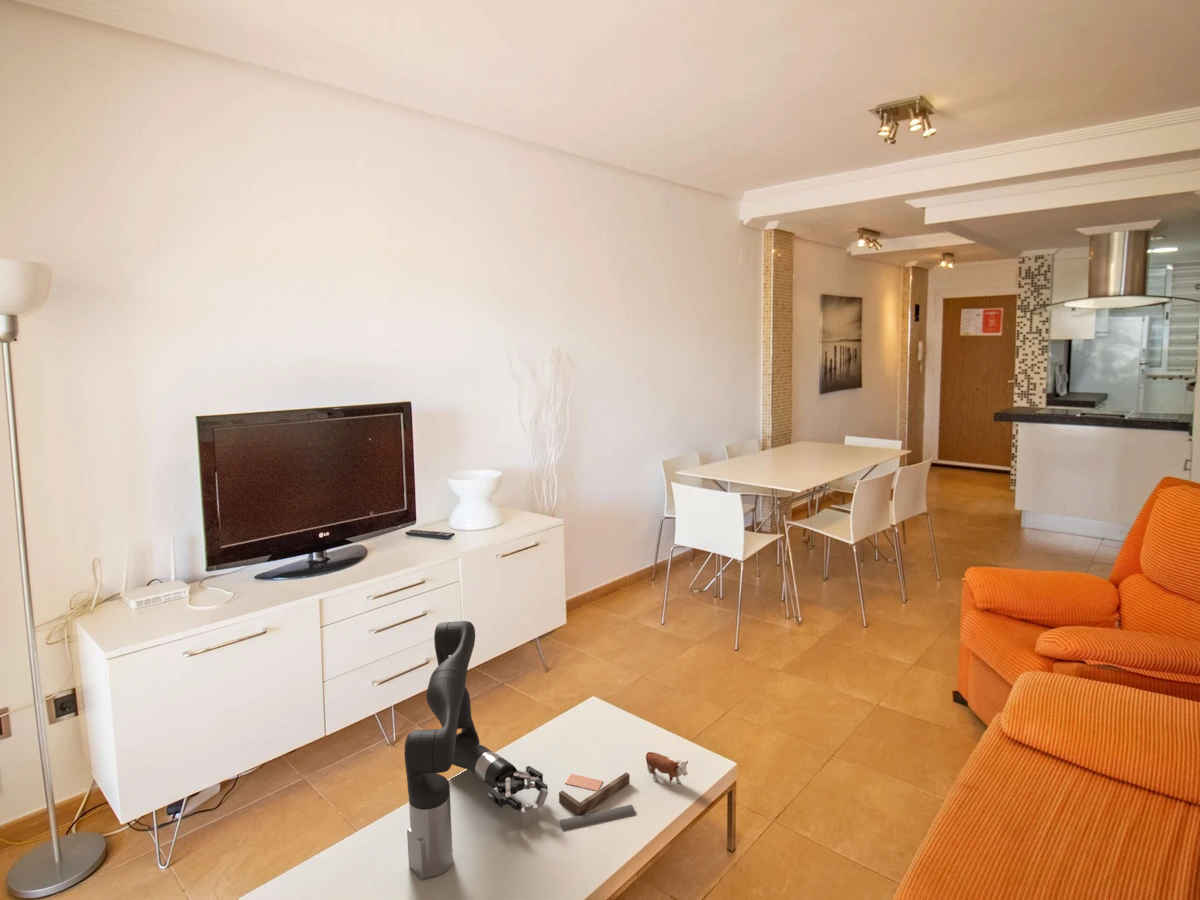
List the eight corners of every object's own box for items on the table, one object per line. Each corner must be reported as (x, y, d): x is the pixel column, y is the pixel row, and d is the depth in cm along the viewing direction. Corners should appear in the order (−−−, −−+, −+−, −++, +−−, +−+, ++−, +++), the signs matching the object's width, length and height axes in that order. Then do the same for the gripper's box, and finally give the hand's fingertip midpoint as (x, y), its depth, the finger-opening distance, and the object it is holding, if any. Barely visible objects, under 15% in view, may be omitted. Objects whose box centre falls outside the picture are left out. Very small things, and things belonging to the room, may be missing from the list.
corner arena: (579, 817, 177) (579, 806, 177) (559, 802, 183) (559, 792, 182) (629, 784, 190) (629, 774, 190) (608, 771, 196) (608, 761, 195)
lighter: (523, 827, 174) (522, 799, 172) (520, 823, 175) (519, 795, 174) (548, 818, 177) (548, 790, 176) (545, 814, 178) (545, 786, 177)
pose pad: (597, 791, 187) (597, 790, 187) (565, 783, 191) (565, 783, 190) (603, 781, 191) (603, 781, 191) (571, 774, 195) (571, 773, 195)
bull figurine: (684, 795, 186) (685, 767, 184) (643, 776, 194) (643, 750, 192) (692, 787, 189) (693, 759, 188) (651, 768, 197) (651, 742, 196)
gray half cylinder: (635, 817, 178) (635, 811, 178) (562, 834, 172) (562, 827, 172) (630, 807, 182) (630, 800, 182) (558, 822, 176) (558, 816, 176)
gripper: (472, 770, 181) (511, 799, 170) (515, 747, 191) (554, 773, 179) (473, 796, 182) (511, 826, 171) (516, 772, 192) (555, 799, 181)
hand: (533, 799), depth 175 cm, fingers open, 8 cm apart
